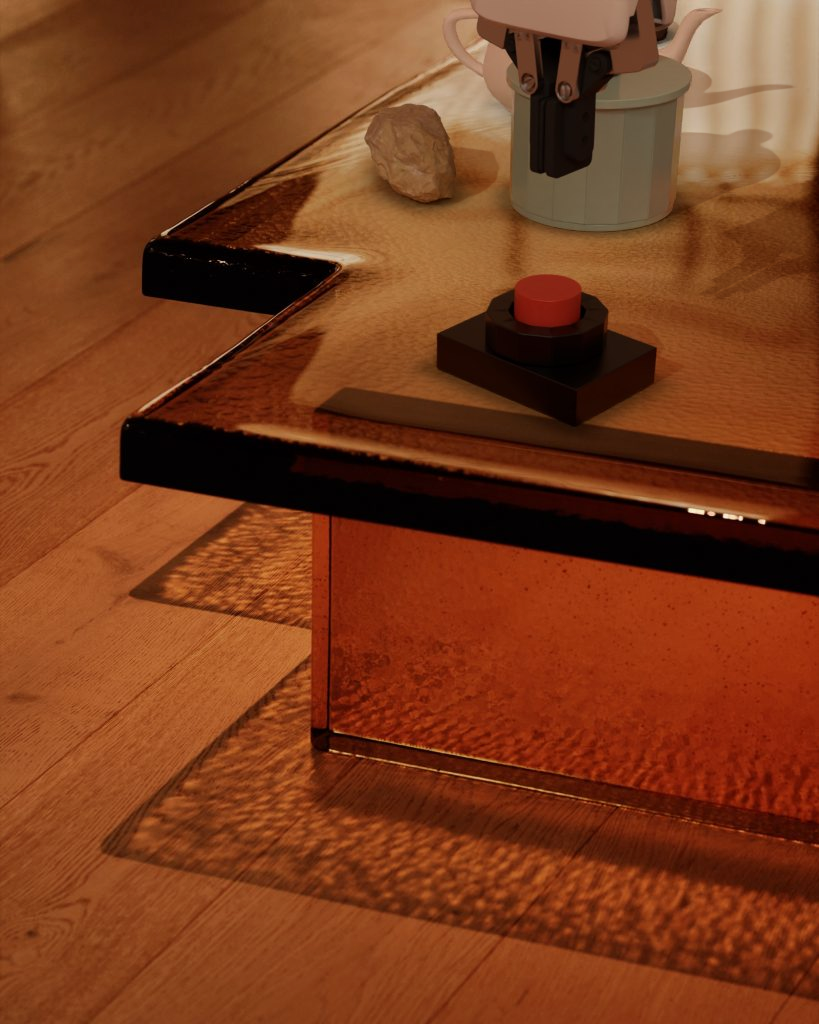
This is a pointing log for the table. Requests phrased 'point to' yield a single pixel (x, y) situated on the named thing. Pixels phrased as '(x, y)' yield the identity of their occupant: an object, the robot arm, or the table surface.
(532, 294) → the button
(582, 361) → the button block
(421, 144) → the stone tool
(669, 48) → the teapot
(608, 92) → the lid
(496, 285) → the table surface
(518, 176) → the jar
